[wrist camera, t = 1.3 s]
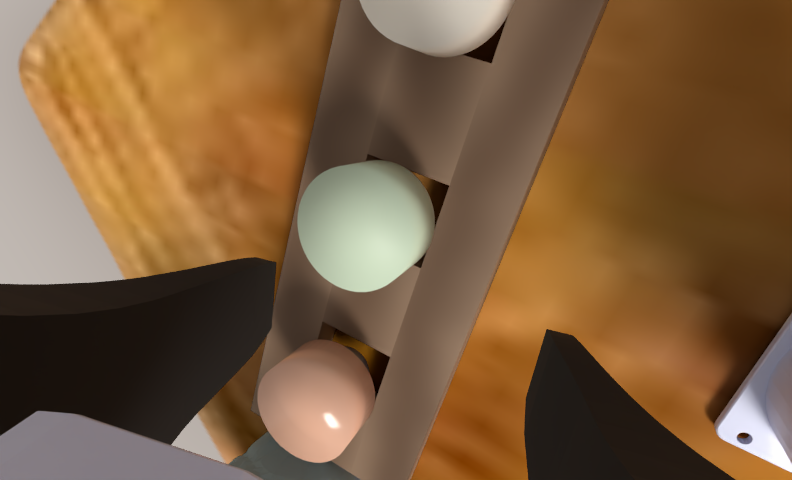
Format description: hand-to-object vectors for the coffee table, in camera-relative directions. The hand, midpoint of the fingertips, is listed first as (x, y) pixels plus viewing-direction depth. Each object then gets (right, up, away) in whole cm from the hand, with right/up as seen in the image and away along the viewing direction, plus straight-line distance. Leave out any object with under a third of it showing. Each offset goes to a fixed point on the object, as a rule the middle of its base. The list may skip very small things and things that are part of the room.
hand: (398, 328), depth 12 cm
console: (+1, +4, +11) cm, 11 cm away
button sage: (0, +4, +9) cm, 10 cm away
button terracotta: (-3, -4, +12) cm, 13 cm away
